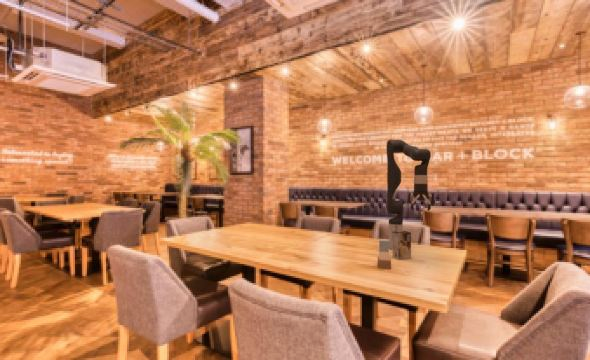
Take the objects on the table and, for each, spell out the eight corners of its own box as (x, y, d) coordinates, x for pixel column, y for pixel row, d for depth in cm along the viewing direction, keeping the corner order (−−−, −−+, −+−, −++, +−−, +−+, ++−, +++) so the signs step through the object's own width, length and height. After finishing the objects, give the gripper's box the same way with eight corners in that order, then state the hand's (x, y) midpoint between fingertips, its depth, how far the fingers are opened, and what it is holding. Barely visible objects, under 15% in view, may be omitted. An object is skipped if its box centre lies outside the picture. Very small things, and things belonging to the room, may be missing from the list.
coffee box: (404, 255, 185) (404, 230, 185) (411, 258, 179) (411, 232, 178) (391, 256, 182) (392, 231, 182) (398, 259, 176) (398, 233, 176)
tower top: (378, 256, 167) (378, 249, 167) (389, 257, 166) (389, 249, 165) (378, 259, 161) (378, 251, 161) (390, 260, 160) (390, 252, 160)
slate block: (379, 249, 166) (379, 238, 166) (388, 249, 165) (388, 239, 165) (379, 251, 161) (379, 240, 161) (388, 252, 160) (389, 241, 160)
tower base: (377, 264, 168) (377, 256, 168) (390, 265, 166) (390, 257, 166) (377, 268, 161) (377, 260, 161) (391, 269, 159) (391, 261, 159)
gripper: (432, 182, 174) (432, 210, 174) (407, 182, 178) (407, 209, 178) (435, 183, 167) (435, 211, 167) (408, 183, 171) (408, 210, 171)
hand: (420, 210), depth 173 cm, fingers open, 8 cm apart
